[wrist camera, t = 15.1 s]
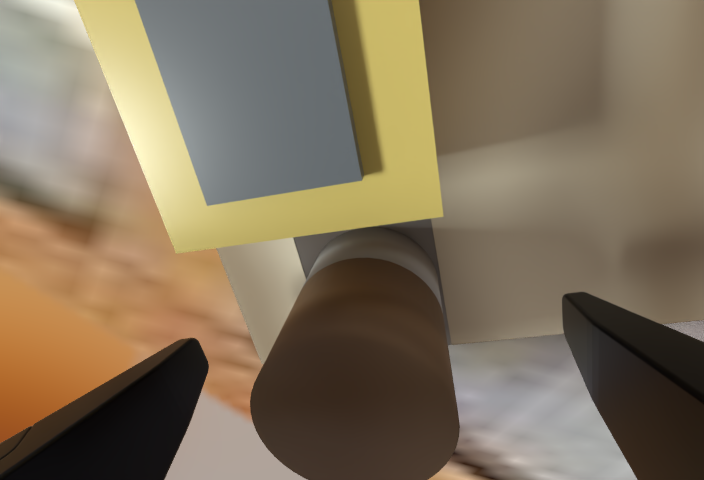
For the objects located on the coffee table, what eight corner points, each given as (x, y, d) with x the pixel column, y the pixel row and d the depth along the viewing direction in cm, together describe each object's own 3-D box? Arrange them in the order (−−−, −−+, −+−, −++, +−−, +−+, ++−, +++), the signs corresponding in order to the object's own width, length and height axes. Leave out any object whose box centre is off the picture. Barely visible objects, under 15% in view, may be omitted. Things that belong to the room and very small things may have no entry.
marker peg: (435, 222, 10) (458, 335, 6) (440, 336, 12) (461, 499, 7) (302, 231, 11) (228, 338, 6) (322, 338, 12) (272, 489, 8)
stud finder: (383, -208, 7) (345, -656, 3) (428, 158, 10) (445, 224, 5) (174, -131, 8) (-101, -380, 4) (265, 185, 11) (165, 261, 6)
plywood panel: (1389, -703, 5) (1567, -845, 4) (983, 271, 10) (1030, 287, 9) (89, -127, 9) (62, -145, 8) (269, 348, 14) (261, 363, 13)
